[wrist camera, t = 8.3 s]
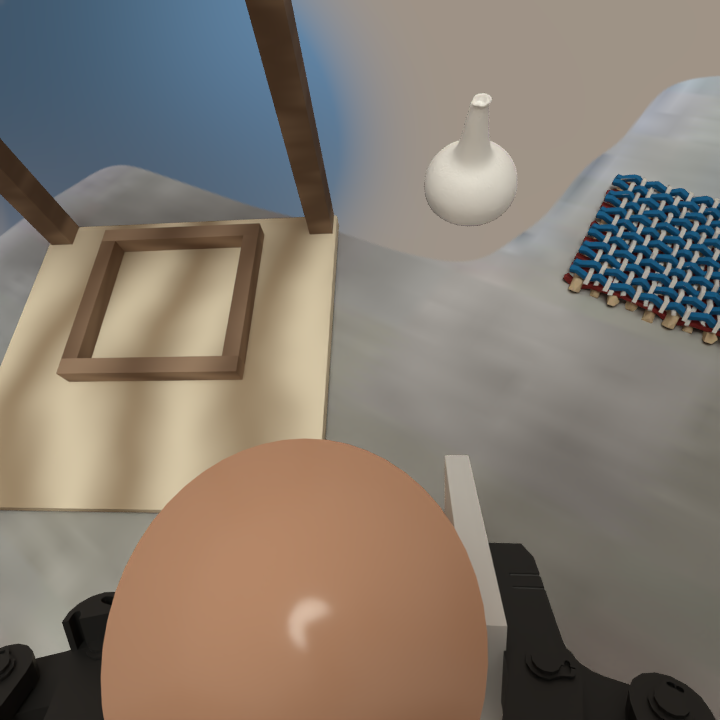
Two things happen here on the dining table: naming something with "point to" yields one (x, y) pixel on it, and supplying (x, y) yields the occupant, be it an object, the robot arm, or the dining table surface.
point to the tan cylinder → (297, 598)
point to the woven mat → (655, 255)
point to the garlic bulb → (472, 173)
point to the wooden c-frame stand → (170, 330)
